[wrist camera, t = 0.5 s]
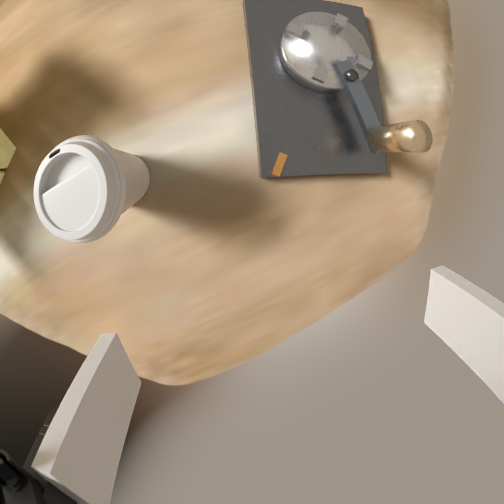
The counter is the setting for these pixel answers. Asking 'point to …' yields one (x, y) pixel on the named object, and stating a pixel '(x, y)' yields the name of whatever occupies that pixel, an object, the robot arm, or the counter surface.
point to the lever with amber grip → (344, 76)
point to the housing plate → (305, 101)
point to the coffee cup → (87, 188)
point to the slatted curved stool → (5, 153)
